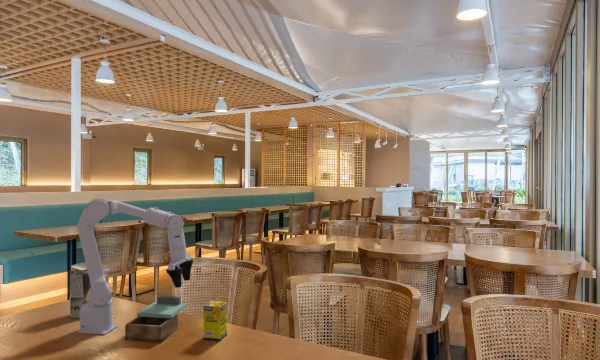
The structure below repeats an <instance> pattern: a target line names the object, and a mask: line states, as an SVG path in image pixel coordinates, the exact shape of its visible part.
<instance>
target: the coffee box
mask: <svg viewBox="0 0 600 360" xmlns="http://www.w3.org/2000/svg"><path fill="white" fill-rule="evenodd" d="M90 288H91V284H90V279H89V275H88V270H87V268H86V269H85V268H84V269H82V270H78V271H75V272H71V273H70V294H69V296H70V298H69V299H70V301H69V302H70V303H69V304H70V306H69V311H70V312H69V318H75V319H80V310H81V308H82V306H83V305H84V304H85V303H89V302H90V301H91V299H90V295H91V293H90Z"/></svg>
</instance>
